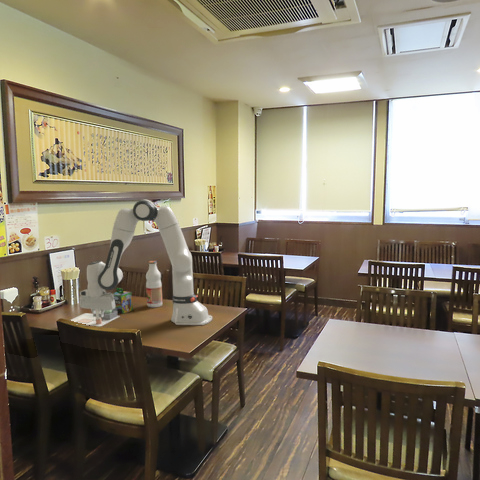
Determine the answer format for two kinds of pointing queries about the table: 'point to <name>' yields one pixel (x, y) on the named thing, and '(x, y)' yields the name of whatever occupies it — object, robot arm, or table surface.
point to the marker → (98, 316)
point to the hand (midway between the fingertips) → (98, 316)
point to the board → (91, 320)
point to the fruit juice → (153, 286)
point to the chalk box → (123, 301)
